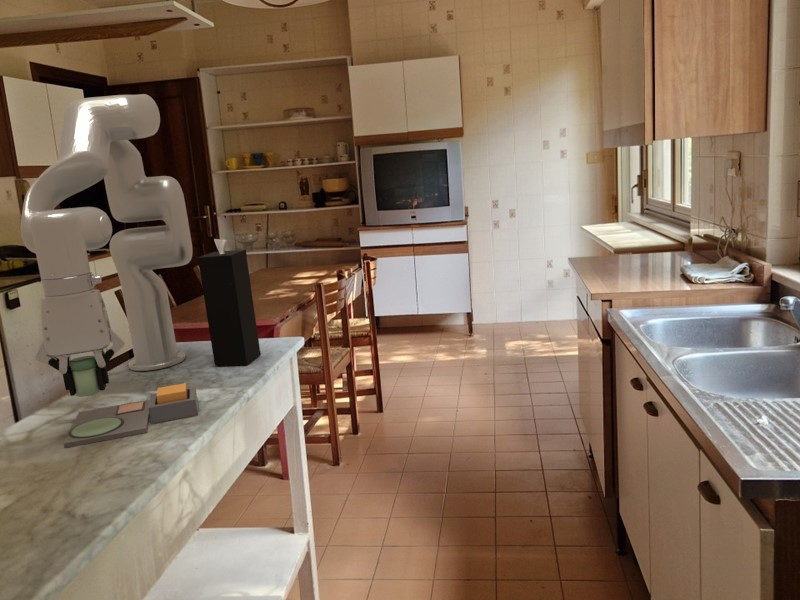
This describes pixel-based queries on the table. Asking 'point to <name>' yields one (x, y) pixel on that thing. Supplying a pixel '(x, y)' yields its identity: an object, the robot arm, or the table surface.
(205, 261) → the tissue box
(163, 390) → the button
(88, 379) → the green capped cylinder
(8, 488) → the table surface
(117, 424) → the colouring board
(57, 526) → the table surface
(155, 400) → the button housing
